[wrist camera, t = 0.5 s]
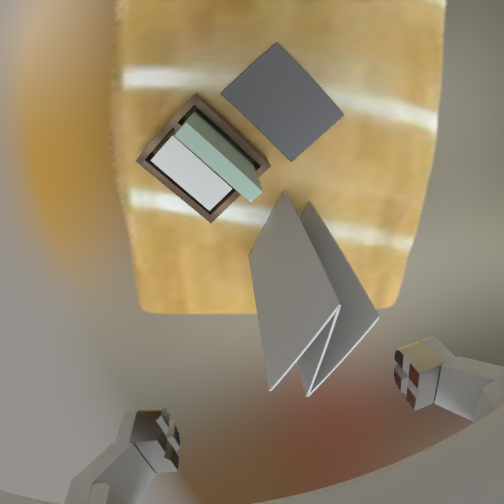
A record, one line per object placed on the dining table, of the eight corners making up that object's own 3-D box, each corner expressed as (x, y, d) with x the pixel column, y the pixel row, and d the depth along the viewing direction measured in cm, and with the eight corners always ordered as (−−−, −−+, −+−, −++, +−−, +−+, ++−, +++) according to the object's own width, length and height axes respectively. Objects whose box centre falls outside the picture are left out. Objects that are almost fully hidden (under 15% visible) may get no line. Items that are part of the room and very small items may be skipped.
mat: (276, 42, 42) (277, 42, 41) (342, 114, 48) (344, 114, 48) (220, 93, 45) (220, 93, 45) (290, 161, 52) (291, 162, 52)
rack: (196, 93, 45) (193, 95, 41) (266, 157, 51) (270, 166, 47) (142, 152, 49) (135, 160, 45) (211, 210, 55) (211, 223, 51)
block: (197, 108, 46) (186, 122, 33) (251, 157, 51) (262, 191, 38) (188, 117, 47) (174, 135, 33) (242, 166, 52) (250, 203, 38)
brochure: (274, 265, 62) (308, 397, 37) (248, 255, 61) (268, 391, 35) (310, 201, 56) (380, 317, 31) (283, 189, 55) (338, 304, 29)
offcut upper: (175, 132, 46) (172, 135, 43) (231, 182, 51) (232, 188, 48) (154, 155, 47) (150, 160, 44) (210, 203, 52) (209, 211, 49)
